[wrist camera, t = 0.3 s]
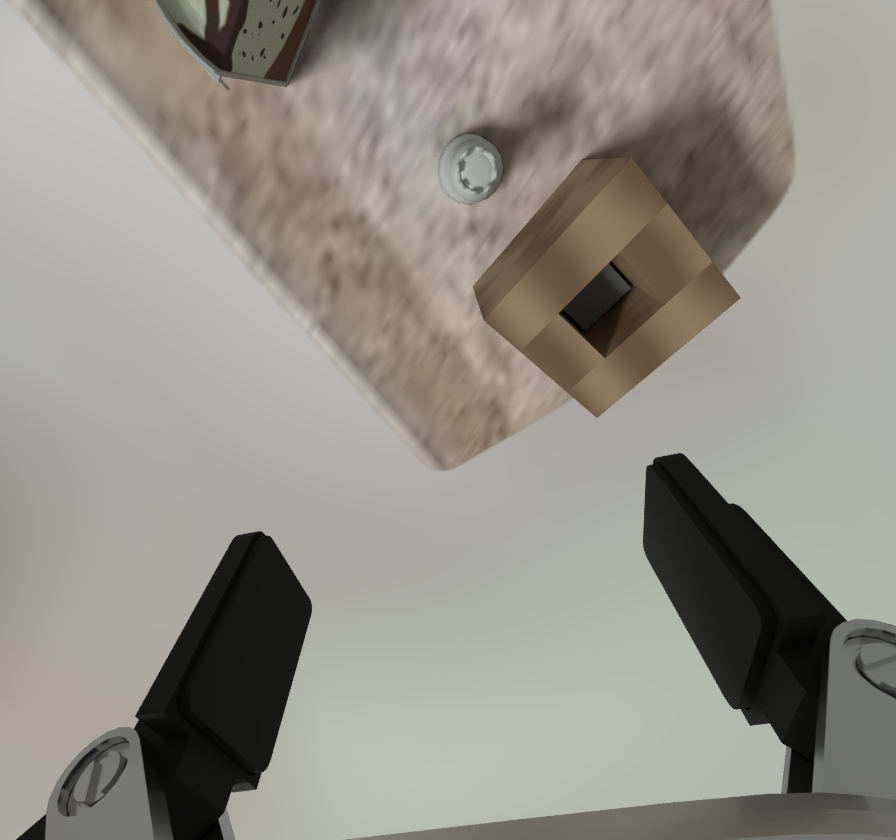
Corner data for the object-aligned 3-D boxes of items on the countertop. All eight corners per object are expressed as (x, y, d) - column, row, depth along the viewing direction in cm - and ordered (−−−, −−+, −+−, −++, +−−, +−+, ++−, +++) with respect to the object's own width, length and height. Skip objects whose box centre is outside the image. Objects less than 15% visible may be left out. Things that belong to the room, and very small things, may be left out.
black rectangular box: (589, 245, 30) (594, 247, 29) (625, 284, 32) (630, 287, 31) (545, 291, 32) (548, 295, 31) (581, 326, 33) (585, 331, 33)
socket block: (581, 159, 30) (631, 157, 23) (672, 269, 35) (740, 297, 27) (472, 286, 35) (483, 320, 27) (565, 368, 39) (596, 418, 32)
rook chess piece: (426, 155, 30) (424, 151, 23) (481, 120, 29) (496, 106, 22) (454, 215, 32) (459, 228, 25) (506, 185, 31) (527, 190, 24)
